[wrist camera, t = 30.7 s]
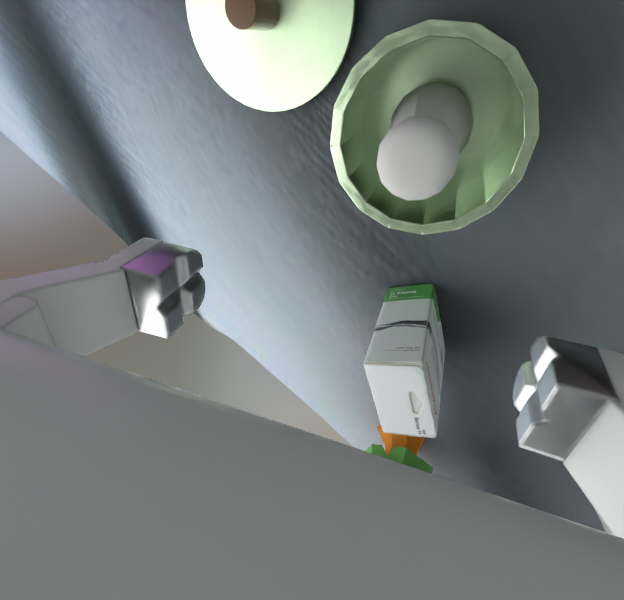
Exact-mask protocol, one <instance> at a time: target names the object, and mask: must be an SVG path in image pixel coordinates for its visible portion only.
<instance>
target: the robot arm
mask: <svg viewBox="0 0 624 600" xmlns="http://www.w3.org/2000/svg"><path fill="white" fill-rule="evenodd" d="M202 267H203V262H202V255H201V254H200V253H199V252H198V251H197V250H194V249H190V248H186V247H182V246H179V245H175V244H171V243H167V242H163V241H160V240H156V239H151V238H142V239H140V240H138V241H137V242H135V243H133V244H132V245H130V246H128V247H127V248H125V249H123V250H122V251H120V252H118V253H117V254H115V255H114V256H112V257H110V258H108V259H107V260H105V261H103V262H102V263H98V262H92V263H87V264H82V265H77V266H72V267H67V268H62V269H57V270H52V271H47V272H42V273H37V274H33V275H27V276H22V277H17V278H12V279H7V280H2V281H0V600H624V355H623V354H622V353H621V352H616V351H612V350H607V349H602V348H597V347H591V346H587V345H582V344H578V343H574V342H569V341H565V340H560V339H556V338H551V337H547V336H542V335H539V336H538V338H537V339H536V340H535V341H534V343H533V345H532V346H531V348H530V352H531V358H532V360H530V361H528V362H526V363H524V364H522V365H521V367H520V369H519V371H518V373H517V375H516V379H515V383H514V386H513V404H514V406H515V407H516V408H517V410H518V411H519V412H520V414H519V416H518V418H517V419H516V429H517V437H518V445H519V447H522V448H525V449H528V450H531V451H534V452H537V453H540V454H543V455H546V456H549V457H552V458H555V459H558V460H561V461H564V462H563V464H564V465H565V467H566V468H567V470H568V471H569V472H570V474H571V475H572V477H573V478H574V480H575V481H576V482H577V484H578V485H579V487H580V488H581V489H582V491H583V492H584V494H585V495H586V497H587V498H588V499H589V501H590V502H591V504H592V505H593V507H594V509H595V510H596V512H597V514H598V516H599V518H600V520H601V522H602V525H603V527H604V529H605V531H606V532H603V531H600V530H597V529H594V528H591V527H588V526H585V525H582V524H579V523H576V522H573V521H570V520H567V519H565V518H562V517H559V516H556V515H553V514H550V513H547V512H544V511H541V510H538V509H535V508H532V507H529V506H526V505H523V504H520V503H517V502H514V501H511V500H508V499H505V498H502V497H499V496H496V495H493V494H490V493H487V492H484V491H482V490H479V489H476V488H473V487H470V486H467V485H464V484H461V483H458V482H455V481H452V480H449V479H446V478H443V477H440V476H437V475H434V474H431V473H428V472H425V471H422V470H419V469H416V468H413V467H410V466H407V465H404V464H401V463H398V462H396V461H393V460H390V459H387V458H384V457H381V456H378V455H375V454H372V453H369V452H366V451H363V450H360V449H357V448H354V447H351V446H348V445H345V444H342V443H339V442H336V441H333V440H330V439H327V438H324V437H322V436H319V435H316V434H313V433H310V432H306V431H304V430H301V429H298V428H295V427H292V426H289V425H286V424H283V423H280V422H277V421H274V420H271V419H268V418H265V417H262V416H259V415H256V414H253V413H250V412H248V411H245V410H242V409H239V408H236V407H233V406H230V405H227V404H224V403H221V402H218V401H215V400H212V399H209V398H206V397H203V396H200V395H197V394H194V393H191V392H188V391H185V390H182V389H179V388H176V387H173V386H170V385H167V384H164V383H161V382H158V381H155V380H152V379H149V378H146V377H143V376H140V375H137V374H134V373H131V372H128V371H125V370H122V369H119V368H116V367H113V366H110V365H107V364H105V363H101V362H98V361H96V360H93V359H90V358H87V357H84V356H86V355H88V354H91V353H93V352H95V351H97V350H100V349H102V348H104V347H107V346H109V345H111V344H113V343H116V342H118V341H120V340H122V339H125V338H127V337H129V336H131V335H133V334H136V333H138V332H139V331H141V332H145V333H149V334H152V335H156V336H160V337H163V338H167V339H168V338H169V337H170V336H171V335H172V334H173V333H174V332H175V331H176V330H177V329H178V328H179V327H180V326H182V325H183V323H184V322H183V317H185V316H188V315H191V314H194V313H195V311H196V310H197V309H198V308H199V307H200V305H201V303H202V301H203V299H204V294H205V281H204V279H203V278H202V276H201V275H200V273H199V271H200V270H201V268H202Z"/></svg>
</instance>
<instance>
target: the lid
mask: <svg viewBox="0 0 624 600" xmlns="http://www.w3.org/2000/svg"><path fill="white" fill-rule="evenodd" d="M185 3H186V11H187V19H188V23H189V27H190V32H191V35H192V38H193V41H194V44H195V47H196V49H197V51H198V54H199V56H200V58H201V60H202V62H203V63H204V65H205V67H206V69H207V70H208V72H209V73H210V74H211V76H212V77H213V79H214V80H215V81H216V82H217V83H218V84H219V86H220V87H221V88H222V89H223V90H225V91H226V92H227V93H228V94H229V95H230V96H232V97H233V98H234V99H236V100H237V101H239V102H241V103H243V104H244V105H246V106H249V107H251V108H254V109H258V110H262V111H270V112H279V111H286V110H290V109H294V108H297V107H299V106H301V105H304V104H306V103H307V102H309V101H311V100H312V99H314V98H315V97H316V96H318V95H319V94H320V93H321V92H322V91H323V90H324V89H325V88H326V87H327V86H328V85H329V84H330V83H331V81H332V80H333V78H334V77H335V76H336V74H337V73H338V71H339V69H340V67H341V65H342V63H343V62H344V59H345V57H346V54H347V52H348V49H349V46H350V42H351V39H352V35H353V30H354V24H355V14H356V0H185Z"/></svg>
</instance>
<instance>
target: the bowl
mask: <svg viewBox="0 0 624 600" xmlns="http://www.w3.org/2000/svg"><path fill="white" fill-rule="evenodd" d="M434 83H442V84H445V85H448V86H450V87H453V88H456V89H458V90H459V91H460V92H461V94H462V95H463V96H464V97H465V99H466V100H467V101H468V102H469V104H470V107H471V113H472V118H473V127H472V131H471V134H470V138H469V142H468V144H467V145H466V146H465V148H464V149H463V150H462V151H461V153H460V157H459V160H458V164H457V168H456V171H455V175H454V176H453V177H452V178H451V180H450V181H449V182H448V183H447V185H446V186H445V187H444V188H443V190H442V191H441V192H439V193H437V194H435V195H433V196H431V197H429V198H427V199H425V200H409V201H407V200H405V199H402V198H400V197H398V196H395V195H393V194H392V193H391V192H390V191H389V190H388V189H387V188H386V187H385V186H384V185H383V184H382V183H381V180H380V177H379V173H378V170H377V157H378V150H379V145H380V143H381V142H382V140H383V138H384V137H385V135H386V134H387V132H388V131H389V129H390V128H391V121H392V114H393V112H394V111H395V109H396V108H397V106H398V105H399V103H400V102H401V100H402V99H403V97H404V96H406V95H407V94H409V93H410V92H411V91H413V90H414V89H416V88H417V87H419V86H420V85H427V84H434ZM539 135H540V131H539V97H538V87H537V86H536V84H535V82H534V80H533V78H532V76H531V74H530V72H529V70H528V69H527V67H526V65H525V63H524V61H523V59H522V57H521V55H520V53H519V52H518V50H517V49H516V47H514V46H513V45H511V44H510V43H508V42H507V41H505V40H504V39H502V38H501V37H499V36H498V35H496V34H495V33H493V32H492V31H490V30H489V29H487V28H485V27H484V26H482V25H481V24H479V23H476V22H467V21H455V20H443V19H428V20H425V21H422V22H420V23H417V24H415V25H412V26H409V27H407V28H404V29H401V30H399V31H396V32H394V33H391V34H388V35H386V36H385V37H384V38H383V39H382V40H381V41H380V42H379V43H377V44H376V45H375V46H374V47H373V48H372V49H371V50H370V51H369V52H368V53H367V54H366V55H365V56H364V57H363V58H362V59H361V60H360V61H359V62H357V63H356V64H355V65H354V66H353V68H352V69H351V71H350V73H349V75H348V77H347V79H346V82H345V84H344V86H343V88H342V90H341V92H340V94H339V96H338V98H337V100H336V102H335V104H334V108H333V117H332V128H331V138H330V150H331V153H332V157H333V161H334V165H335V168H336V172H337V176H338V180H339V181H340V184H341V185H342V186H343V188H344V189H345V191H346V192H347V193H348V195H349V196H350V198H351V199H352V200H353V202H354V203H355V204H356V206H357V207H358V209H360V211H362V212H364V213H365V214H367V215H368V216H370V217H371V218H373V219H375V220H376V221H378V222H379V223H381V224H382V225H384V226H385V227H387V228H390V229H395V230H400V231H405V232H410V233H415V234H419V235H426V234H432V233H439V232H445V231H452V230H458V229H461V228H462V227H464V226H466V225H468V224H470V223H472V222H473V221H475V220H477V219H479V218H481V217H483V216H485V215H486V214H488V213H490V212H492V211H493V210H495V209H496V208H497V207H498V205H499V204H500V203H501V202H502V201H503V200H504V199H505V198H506V197H507V195H508V194H509V193H510V192H511V191H512V190H513V189H514V188H515V187H516V185H517V184H518V183H519V182H520V181H521V180H522V178H523V177H524V174H525V172H526V169H527V167H528V164H529V161H530V159H531V156H532V154H533V151H534V149H535V146H536V143H537V141H538V138H539Z"/></svg>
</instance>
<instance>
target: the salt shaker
mask: <svg viewBox="0 0 624 600" xmlns="http://www.w3.org/2000/svg"><path fill="white" fill-rule="evenodd" d="M472 127H473V118H472V113H471V107H470V104H469V102H468V101H467V100H466V99H465V97H464V96H463V95H462V94H461V92H460V91H459V90H458V89H456V88H453V87H450V86H448V85H445V84H442V83H434V84H427V85H420V86H419V87H417V88H416V89H414V90H413V91H411V92H410V93H409V94H407V95H406V96H404V97H403V99H402V100H401V102H400V103H399V105H398V106H397V108H396V109H395V111H394V112H393V114H392V121H391V128H390V129H389V131H388V132H387V134H386V135H385V137H384V138H383V140H382V142H381V143H380V145H379V150H378V157H377V170H378V173H379V177H380V180H381V183H382V184H383V185H384V186H385V187H386V188H387V189H388V190H389V191H390V192H391V193H392V194H393V195H395V196H398V197H400V198H402V199H405V200H407V201H409V200H425V199H427V198H429V197H431V196H433V195H435V194H437V193H439V192H441V191H442V190H443V188H444V187H445V186H446V185H447V183H448V182H449V181H450V180H451V178H452V177H453V176H454V175H455V171H456V168H457V164H458V160H459V157H460V153H461V151H462V150H463V149H464V148H465V146H466V145H467V144H468V142H469V138H470V134H471V131H472Z"/></svg>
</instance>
